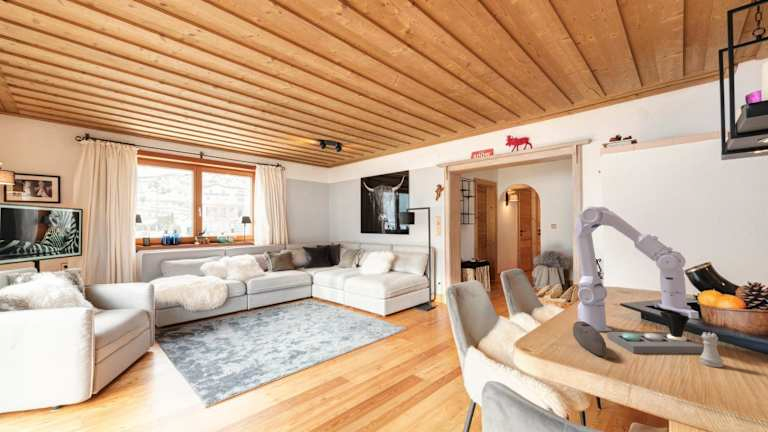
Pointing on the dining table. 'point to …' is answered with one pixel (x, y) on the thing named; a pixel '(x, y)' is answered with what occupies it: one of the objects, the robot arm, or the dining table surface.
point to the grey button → (653, 337)
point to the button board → (655, 344)
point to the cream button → (676, 338)
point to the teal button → (631, 337)
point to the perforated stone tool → (589, 338)
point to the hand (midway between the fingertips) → (676, 336)
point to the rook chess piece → (711, 351)
